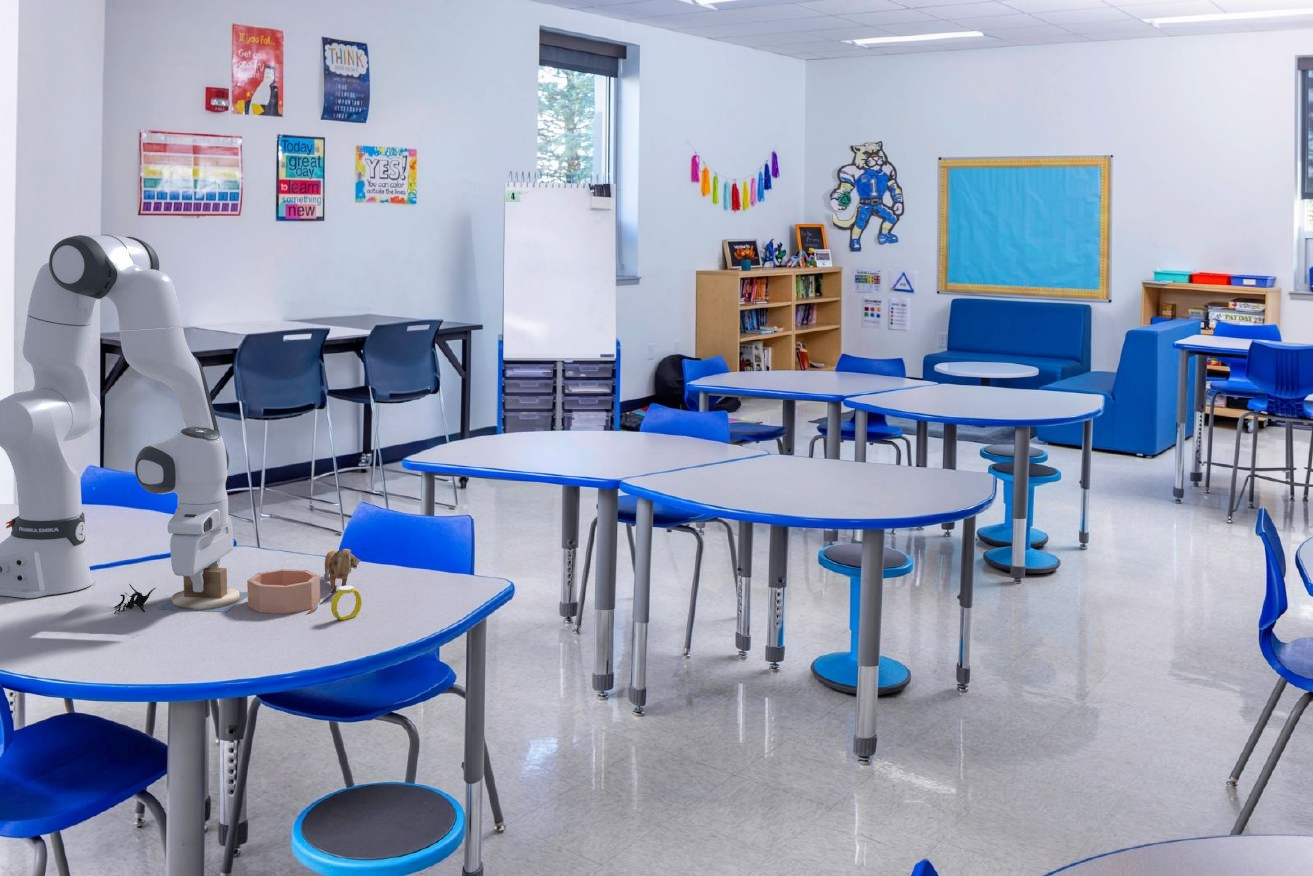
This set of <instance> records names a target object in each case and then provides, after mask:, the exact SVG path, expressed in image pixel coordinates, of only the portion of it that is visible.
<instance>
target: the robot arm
mask: <svg viewBox="0 0 1313 876" xmlns="http://www.w3.org/2000/svg"><path fill="white" fill-rule="evenodd" d="M156 252H157V251H155V249H154V248H153V247H152V246H151V245H150V244H148V243H147V242H145V241H144V240H142V239H139V238H137V237H134V236H120V235H114V234H108V233H107V234H99V235H98V234H97V235H85V234H83V235H82V234H80V235H73V236H69V237H66V238H63V239H61V240H60V241H58V242H57V243H56V244H55V245H54V246H53V248H52V249H51V252H50V254H49V258H48V262H47V263H44V264H43V265H42V266H41V267H40V269H39V270H38V273H37V275H36V278H35V280H34V284H33V286H32V291H31V293H30V298H29V303H28V310H27V314H26V321H25V322H26V323H25V330H24V331H25V332H24V338H23V345H22V354H23V357H24V359H25V361H27V362H28V363H29V364H30V365H31V368H32V371H33V378H34V384H33V385H34V386H33V389H31V390H26V391H21V392H15V393H12V394H10V395H9V396H7V397H4V398H2V399H1V400H0V447H1V449H2V450H4V452H5V454H6V455H7V457H8V459H9V461H10V465H11V466H12V469H13V473H14V475H15V476H14V477H15V480H16V490H17V502H18V503H17V504H18V516H16V517H14V518H12V519H11V520H10V521H7V522H5V525H6V524H7V525H6V526H5V529H9V528H11V533H10V535H9V536H7V537H6V538H5V539H4V540H2V541H1V542H0V596H4V597H13V598H20V599H21V598H22V599H34V598H40V597H41V598H42V597H45V596H50V595H59V594H65V593H71V592H74V591H75V592H76V591H79V590H82V589H85V588H88V587H90V586H92V585H93V584H94V583H95V580H94V577H93V574H92V572H91V571H92V570H91V569H90V565H89V560H88V557H87V551H86V544H85V541H86V520H85V513H84V512H83V508H82V507H83V505H82V485H81V484H82V483H81V475H80V473H79V472H78V471H77V469H75V468H74V467H73V466H71V464H70V463H69V461H68V459H67V457H66V453H65V449H64V444H63V443H64V442H69V441H72V440H76V439H79V438H81V437H82V436H84V435H86V434H88V433H89V432H90V431H91V430H93V429H94V428H96V426H97V425H98V424H99V421H100V419H101V414H102V409H101V407H102V406H101V404H100V401H99V399H98V398H97V396H96V394H94V392H93V391H92V389H91V385H90V382H89V381H90V380H89V374H88V352H89V343H90V336H91V328H92V321H93V313H94V308H95V303H96V300H102V299H103V298H105V297H106V298H108V299H109V300H110V301H111V302H113V304H114V306H115V308H116V311H117V316H118V326H119V327H118V328H119V337H120V338H119V339H120V344H121V350H122V354H123V357H124V360H125V361H126V362H127V364H128V365H129V366H130V367H131V368H132V369H133V370H135V371H136V372H137V373H139V374H140V375H143V376H144V377H147V378H149V379H151V380H152V379H153V380H155V381H158V382H161V383H163V384H165V385H166V386H168V387H169V388H170V389H171V390H172V391H173V392H174V394H176V396H177V398H178V402H179V406H180V410H181V413H182V414H181V415H182V418H183V421H184V426H185V427H184V428H182V429H181V430H179V431H178V432H177V434H176V435H174V436H172V437H170V438H168V439H165V440H164V441H159V442H156V443H153V444H150V445H147V446H144V447H142V449H140V451H139V452H138V454H137V456H136V458H135V462H134V463H135V464H134V471H135V472H134V473H135V477H136V480H137V482H138V484H139V485H140V486H141V488H143V490H145V491H146V492H148V493H150V494H155V495H156V494H157V495H166V494H171V493H175V494H176V495H177V508H176V509H175V512H174V514H173V516H172V517H171V519H169V521H168V523H167V533H168V534H171V536H170V542H169V543H170V544H169V549H170V550H169V551H170V563H171V570H172V571H173V574H174V575H175V576H178V577H184V576H190V578H191V581H192V583H193V591H194V592H202V591H203V590H205V581H203V577H202V574H203V569H204V568H206V567H208V568H220V565H221V559H222V558H223V557H225V556H226V555H228V554H230V553H231V552H232V551H233V548H234V533H233V532H234V531H233V529H234V528H233V523H232V522H233V521H232V518H231V517H230V516H229V496H228V492H227V490H226V483H227V479H228V470H229V468H230V467H229V466H230V455H229V453H228V449H227V447H226V445H225V441H224V439H223V436H222V434H221V433H220V430H219V425H218V422H217V418H216V414H215V410H214V409H215V408H214V406H213V402H212V398H211V395H210V394H211V393H210V390H209V386H208V385H209V384H208V382H207V378H206V374H205V372H204V369H203V366H202V364H201V362H200V361H199V359H198V358H197V357H196V356H194V355H193V353H192V352H191V349H190V348H189V345H188V342H187V339H186V336H185V332H184V330H185V329H184V324H183V322H184V321H183V317H182V312H181V311H182V310H181V306H180V302H179V298H178V294H177V291H176V288H175V285H174V282H173V280H172V279H171V277H170V276H169V275H168V274H167V273H165V272H163V271H160V260H159V256H158V254H157V253H156Z"/></svg>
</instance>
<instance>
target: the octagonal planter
mask: <svg viewBox="0 0 1313 876" xmlns="http://www.w3.org/2000/svg"><path fill="white" fill-rule="evenodd" d="M246 582H247V584H246V585H247V592H248V597H247V607H248V608H249V609H250V608H251V609H253V611H256V612H259V613H263V614H264V613H265V614H275V615H276V614H279V615H280V614H284V615H285V614H292V613H299V612H304V611H308V610H309V611H308V612H307V613H306V614H305V616H307V615H309V614H313V613H314V612H316V611H317V610H318V604H319V603H320V602H321V576H320V574H317V573H315V572H313V571H310V570H308V569H286V568H281V569H275V570H274V569H273V570H269V571H262V572H257V573H255V574H254V575H252V576H251V577H249V579H247V581H246Z"/></svg>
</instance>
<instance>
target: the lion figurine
mask: <svg viewBox="0 0 1313 876" xmlns="http://www.w3.org/2000/svg"><path fill="white" fill-rule="evenodd" d="M360 562H361V559H359V558H357V557H356V556H355V554H352V550H351V549H349V548H343V549H339V550H337V551H336V550H330V551H329V552H327V554H326V555H325V559H324V574H323V576H324V580H328V579H329V581H330V582H329V583H330V588H334V589H332V590H331V591H330V592H329V593H330V594H336V593H337V591H338V590H337V587H336V586H337V585H336V580H337V579H338V580H341V586H347V582H348V576H349V574H351V573H352V569H357V568H358V565H359V564H360ZM341 586H340V587H341ZM335 592H336V593H335Z"/></svg>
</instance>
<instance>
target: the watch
mask: <svg viewBox="0 0 1313 876" xmlns="http://www.w3.org/2000/svg"><path fill="white" fill-rule="evenodd" d="M350 593H353V594H354V597H355V605H354V609H353V610H352V611H351V613H350V614H347V615H343V616H340V614H339V611H338V602H339V601H340V599H341V597H342V596H343V595H344V594H350ZM362 604H363V601H362V595H361V594H360V592H359V591H358V590H356V589H355V587H354V586H353V585H346V586H338V590H337V591H336V593H334V596H333V598H332V600H331V605H330V609H331V613H332V615H333V616H334V617H335V618H336V619H337V620H339V621H346V620H349V619H353V618H356V617H357V615H359V613H360V611H361V608H362Z"/></svg>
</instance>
